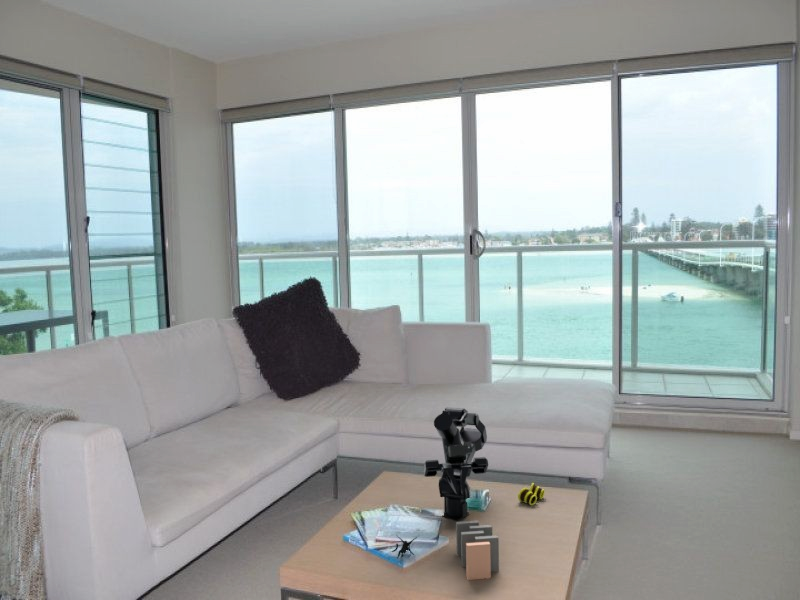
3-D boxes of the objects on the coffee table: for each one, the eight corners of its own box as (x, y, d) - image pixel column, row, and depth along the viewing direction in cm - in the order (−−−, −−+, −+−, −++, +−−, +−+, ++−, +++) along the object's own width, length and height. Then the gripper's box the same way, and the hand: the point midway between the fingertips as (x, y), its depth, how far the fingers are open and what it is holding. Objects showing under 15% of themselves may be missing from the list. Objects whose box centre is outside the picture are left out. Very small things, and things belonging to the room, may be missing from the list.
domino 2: (456, 553, 181) (456, 521, 180) (477, 551, 182) (477, 520, 181) (457, 555, 180) (457, 524, 179) (479, 554, 180) (478, 522, 180)
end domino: (466, 577, 168) (466, 543, 167) (489, 575, 169) (489, 541, 168) (467, 579, 167) (467, 545, 166) (490, 578, 167) (490, 544, 167)
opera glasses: (530, 509, 212) (533, 495, 211) (516, 502, 216) (519, 488, 215) (544, 500, 220) (547, 486, 219) (530, 493, 223) (533, 480, 222)
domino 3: (461, 564, 175) (460, 532, 174) (483, 563, 175) (483, 530, 175) (462, 567, 173) (461, 534, 173) (484, 565, 174) (484, 532, 173)
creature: (413, 569, 175) (421, 549, 183) (411, 552, 174) (419, 533, 181) (385, 565, 178) (394, 546, 185) (383, 548, 176) (393, 530, 184)
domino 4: (475, 570, 172) (474, 536, 171) (497, 568, 172) (497, 535, 172) (476, 572, 170) (475, 539, 170) (498, 570, 171) (498, 537, 170)
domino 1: (469, 558, 178) (469, 526, 178) (491, 556, 179) (491, 524, 178) (470, 560, 177) (470, 528, 176) (492, 559, 177) (492, 526, 177)
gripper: (424, 434, 193) (430, 483, 183) (486, 430, 195) (496, 479, 185) (421, 451, 201) (427, 500, 191) (480, 448, 203) (489, 496, 193)
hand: (459, 494), depth 190 cm, fingers closed
